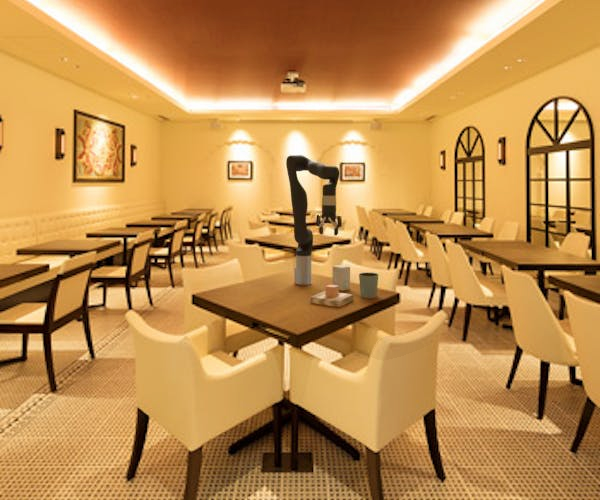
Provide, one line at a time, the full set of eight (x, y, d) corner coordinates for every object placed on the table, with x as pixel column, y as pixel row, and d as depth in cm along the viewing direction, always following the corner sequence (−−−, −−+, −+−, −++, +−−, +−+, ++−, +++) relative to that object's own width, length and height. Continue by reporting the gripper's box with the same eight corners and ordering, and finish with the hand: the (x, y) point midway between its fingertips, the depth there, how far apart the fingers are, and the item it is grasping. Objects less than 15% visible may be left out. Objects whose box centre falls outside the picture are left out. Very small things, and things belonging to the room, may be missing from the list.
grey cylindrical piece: (379, 298, 242) (380, 275, 241) (360, 298, 241) (361, 276, 240) (375, 293, 252) (375, 272, 251) (356, 294, 251) (357, 272, 250)
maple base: (310, 302, 233) (310, 296, 233) (325, 296, 247) (325, 290, 246) (339, 307, 225) (339, 301, 224) (353, 300, 238) (353, 294, 238)
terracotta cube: (325, 296, 235) (325, 286, 234) (329, 294, 239) (330, 284, 238) (334, 297, 232) (334, 287, 231) (338, 295, 236) (338, 285, 235)
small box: (350, 289, 263) (350, 266, 261) (342, 290, 259) (342, 267, 257) (340, 286, 269) (340, 264, 267) (332, 288, 265) (332, 265, 263)
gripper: (313, 204, 246) (313, 234, 249) (337, 204, 239) (337, 236, 241) (320, 203, 253) (320, 233, 255) (344, 204, 245) (343, 234, 248)
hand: (328, 234), depth 248 cm, fingers open, 8 cm apart
